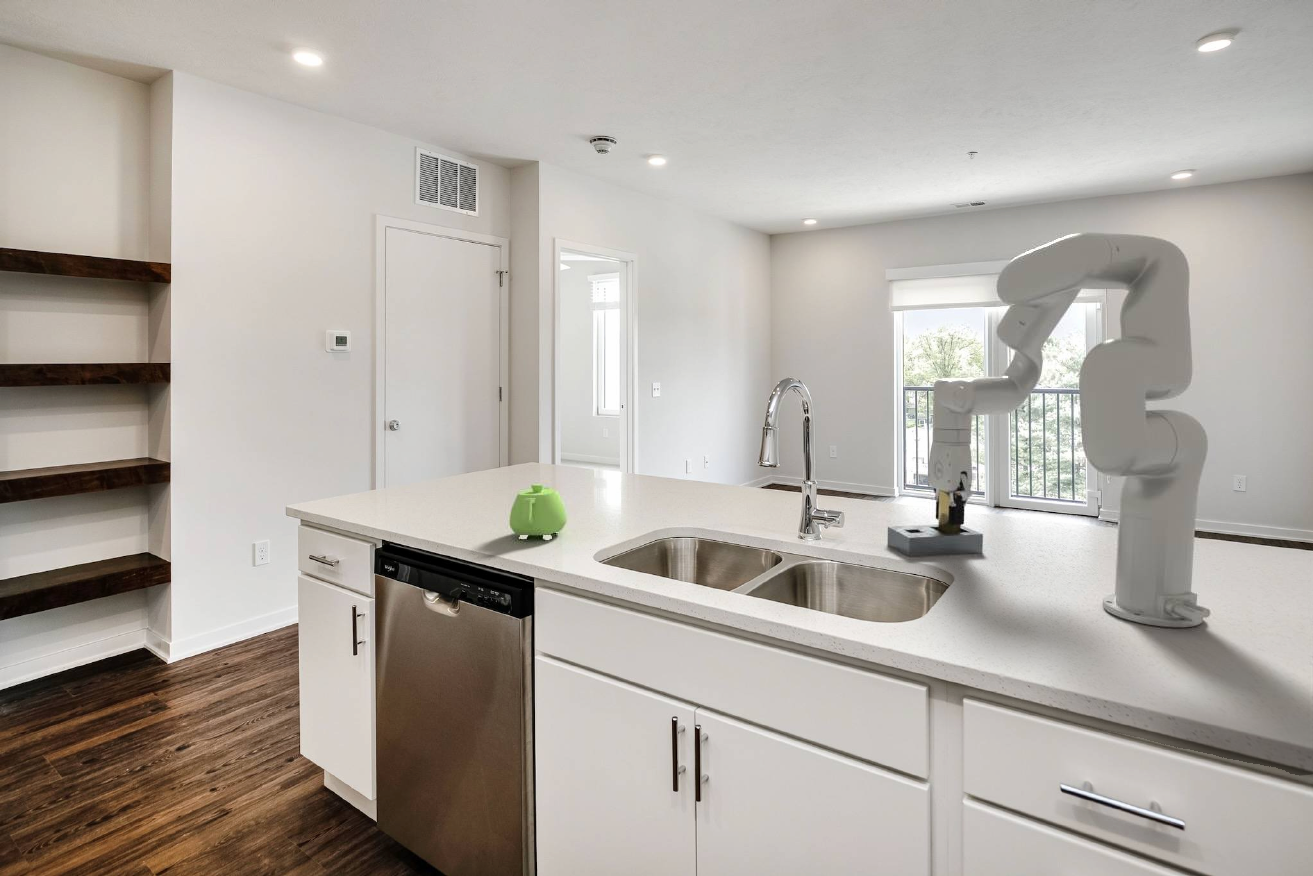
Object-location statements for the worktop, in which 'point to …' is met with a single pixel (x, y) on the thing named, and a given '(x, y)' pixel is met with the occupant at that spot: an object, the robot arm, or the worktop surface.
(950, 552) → the block
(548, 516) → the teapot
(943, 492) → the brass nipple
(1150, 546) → the robot arm
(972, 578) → the worktop surface
